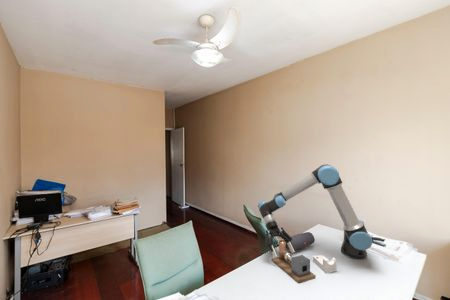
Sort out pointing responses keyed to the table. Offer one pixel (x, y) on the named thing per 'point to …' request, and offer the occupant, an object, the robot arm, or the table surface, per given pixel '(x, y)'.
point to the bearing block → (300, 266)
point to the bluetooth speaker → (301, 241)
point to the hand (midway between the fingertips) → (284, 254)
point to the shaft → (284, 251)
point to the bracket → (325, 263)
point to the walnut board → (287, 268)
